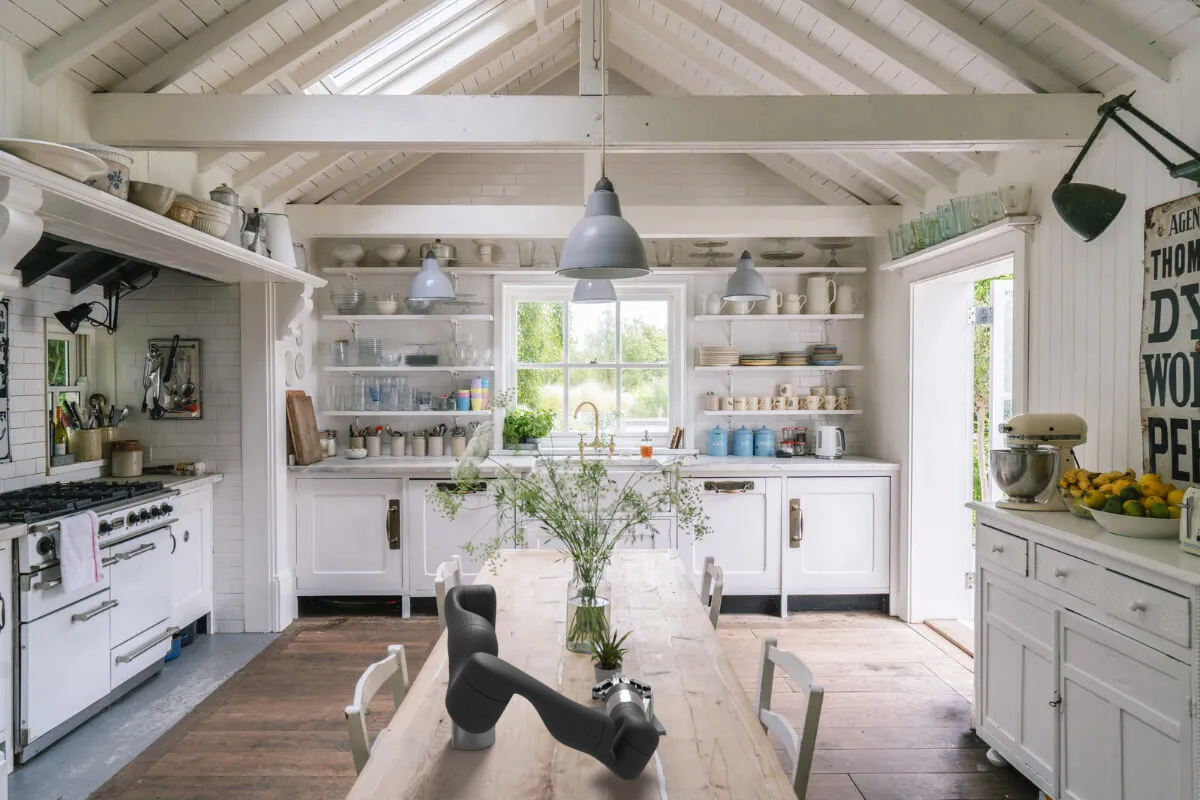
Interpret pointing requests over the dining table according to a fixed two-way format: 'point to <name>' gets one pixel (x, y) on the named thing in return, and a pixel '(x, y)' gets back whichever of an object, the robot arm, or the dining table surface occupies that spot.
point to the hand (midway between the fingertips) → (618, 676)
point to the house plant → (607, 656)
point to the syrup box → (649, 707)
